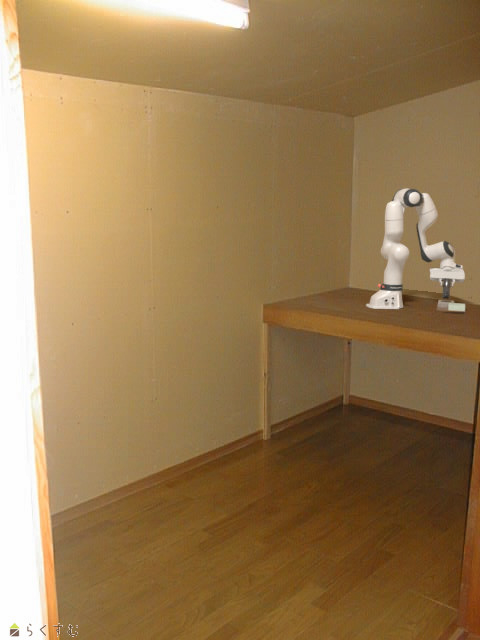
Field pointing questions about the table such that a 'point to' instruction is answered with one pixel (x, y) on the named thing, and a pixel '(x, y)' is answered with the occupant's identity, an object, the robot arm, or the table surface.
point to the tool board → (450, 310)
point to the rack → (456, 307)
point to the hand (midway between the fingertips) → (446, 286)
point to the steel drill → (446, 288)
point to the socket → (444, 303)
